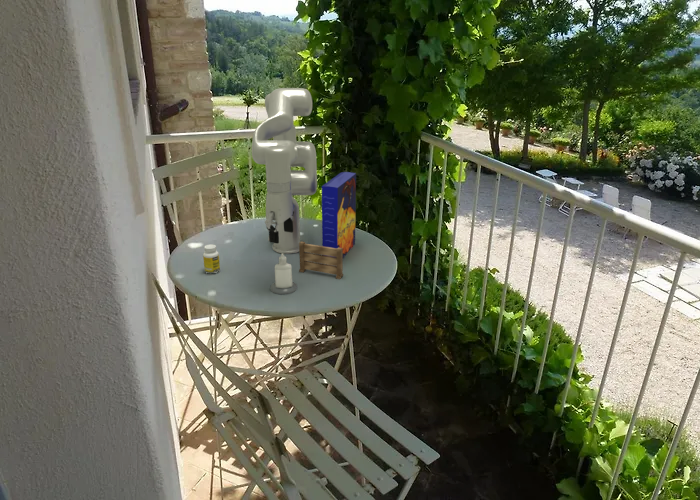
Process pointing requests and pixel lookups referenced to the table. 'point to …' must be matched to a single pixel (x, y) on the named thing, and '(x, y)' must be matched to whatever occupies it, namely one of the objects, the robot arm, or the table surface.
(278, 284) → the eye dropper bottle
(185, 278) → the table surface
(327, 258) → the brown piece
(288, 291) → the coaster
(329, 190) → the cereal box
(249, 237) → the table surface
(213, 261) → the supplement bottle
